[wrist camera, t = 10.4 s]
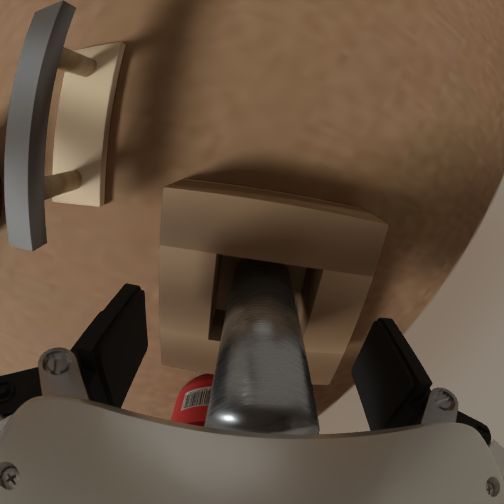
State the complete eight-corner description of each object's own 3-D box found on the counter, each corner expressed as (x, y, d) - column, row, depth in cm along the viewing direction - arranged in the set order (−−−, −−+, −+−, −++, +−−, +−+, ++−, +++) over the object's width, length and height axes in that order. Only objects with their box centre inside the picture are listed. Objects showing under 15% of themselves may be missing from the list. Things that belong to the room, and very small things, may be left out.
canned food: (169, 408, 21) (140, 512, 11) (197, 355, 19) (161, 495, 8) (245, 433, 22) (240, 533, 12) (289, 388, 20) (301, 516, 9)
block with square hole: (184, 178, 14) (163, 187, 11) (363, 208, 15) (389, 224, 11) (175, 330, 18) (161, 364, 15) (319, 349, 18) (329, 384, 15)
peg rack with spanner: (78, 40, 11) (23, 18, 5) (129, 31, 11) (79, -6, 6) (58, 214, 15) (-1, 242, 10) (104, 220, 15) (46, 254, 10)
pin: (237, 249, 15) (206, 396, 6) (294, 257, 15) (336, 406, 6) (230, 299, 16) (202, 452, 7) (283, 306, 16) (301, 459, 7)
